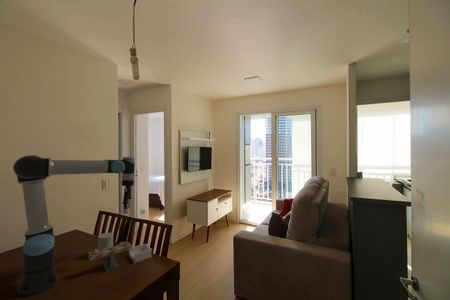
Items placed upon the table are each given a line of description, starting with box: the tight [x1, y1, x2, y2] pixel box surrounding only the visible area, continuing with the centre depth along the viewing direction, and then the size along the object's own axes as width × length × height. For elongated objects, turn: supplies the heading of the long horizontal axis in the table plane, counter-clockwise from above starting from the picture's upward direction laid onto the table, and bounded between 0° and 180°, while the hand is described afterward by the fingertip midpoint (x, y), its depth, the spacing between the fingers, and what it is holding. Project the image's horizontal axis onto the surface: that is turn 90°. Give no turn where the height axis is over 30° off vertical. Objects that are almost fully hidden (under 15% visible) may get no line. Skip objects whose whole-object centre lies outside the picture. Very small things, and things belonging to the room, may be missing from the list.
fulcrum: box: [101, 253, 120, 272], centre depth 125 cm, size 7×10×8 cm
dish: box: [128, 243, 153, 264], centre depth 136 cm, size 11×11×5 cm
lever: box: [88, 241, 133, 261], centre depth 127 cm, size 22×12×4 cm, turn 130°
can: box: [97, 232, 114, 251], centre depth 141 cm, size 9×9×12 cm
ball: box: [92, 248, 99, 255], centre depth 120 cm, size 3×3×3 cm
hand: (126, 211), depth 144 cm, fingers open, 13 cm apart
